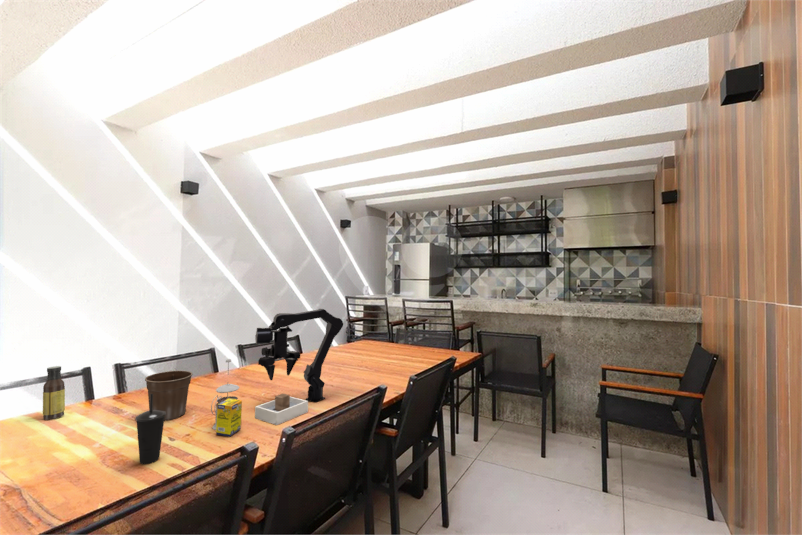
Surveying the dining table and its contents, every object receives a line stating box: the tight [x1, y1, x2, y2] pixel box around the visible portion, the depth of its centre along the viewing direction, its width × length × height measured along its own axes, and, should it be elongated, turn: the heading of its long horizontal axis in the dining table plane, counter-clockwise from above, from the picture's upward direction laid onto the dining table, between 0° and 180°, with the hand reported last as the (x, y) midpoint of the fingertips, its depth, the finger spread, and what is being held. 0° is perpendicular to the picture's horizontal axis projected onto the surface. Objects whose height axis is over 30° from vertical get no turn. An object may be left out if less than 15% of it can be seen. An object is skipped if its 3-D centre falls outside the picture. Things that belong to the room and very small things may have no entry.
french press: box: [210, 358, 240, 431], centre depth 133 cm, size 10×12×25 cm
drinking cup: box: [134, 394, 166, 465], centre depth 108 cm, size 8×8×20 cm
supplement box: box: [215, 398, 243, 437], centre depth 127 cm, size 6×6×11 cm
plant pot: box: [144, 370, 193, 422], centre depth 143 cm, size 16×16×16 cm
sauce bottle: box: [42, 365, 66, 421], centre depth 140 cm, size 6×6×20 cm
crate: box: [254, 396, 309, 426], centre depth 144 cm, size 16×13×4 cm
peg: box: [274, 393, 291, 411], centre depth 145 cm, size 4×4×7 cm
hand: (279, 377), depth 156 cm, fingers open, 9 cm apart
